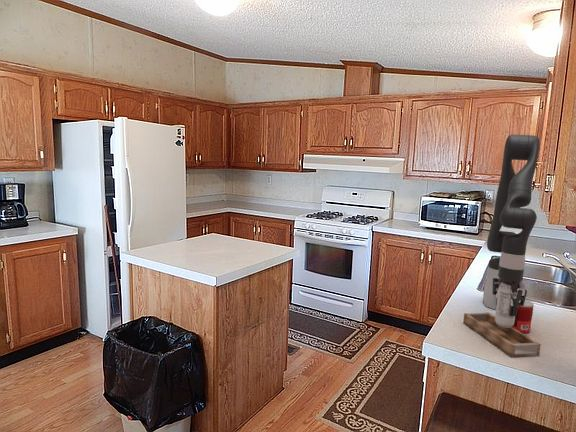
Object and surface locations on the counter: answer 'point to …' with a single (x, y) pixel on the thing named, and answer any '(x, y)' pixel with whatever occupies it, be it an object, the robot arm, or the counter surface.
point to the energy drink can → (504, 306)
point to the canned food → (524, 317)
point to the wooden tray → (502, 335)
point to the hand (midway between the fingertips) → (505, 312)
